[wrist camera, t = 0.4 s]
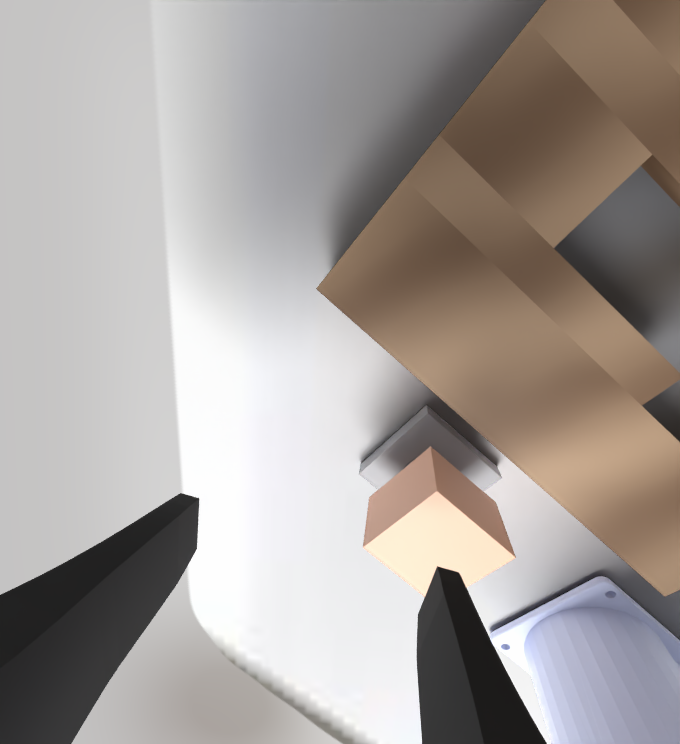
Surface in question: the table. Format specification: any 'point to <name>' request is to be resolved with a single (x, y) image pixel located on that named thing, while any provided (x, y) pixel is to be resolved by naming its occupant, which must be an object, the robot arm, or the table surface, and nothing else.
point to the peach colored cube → (433, 505)
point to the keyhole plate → (551, 269)
